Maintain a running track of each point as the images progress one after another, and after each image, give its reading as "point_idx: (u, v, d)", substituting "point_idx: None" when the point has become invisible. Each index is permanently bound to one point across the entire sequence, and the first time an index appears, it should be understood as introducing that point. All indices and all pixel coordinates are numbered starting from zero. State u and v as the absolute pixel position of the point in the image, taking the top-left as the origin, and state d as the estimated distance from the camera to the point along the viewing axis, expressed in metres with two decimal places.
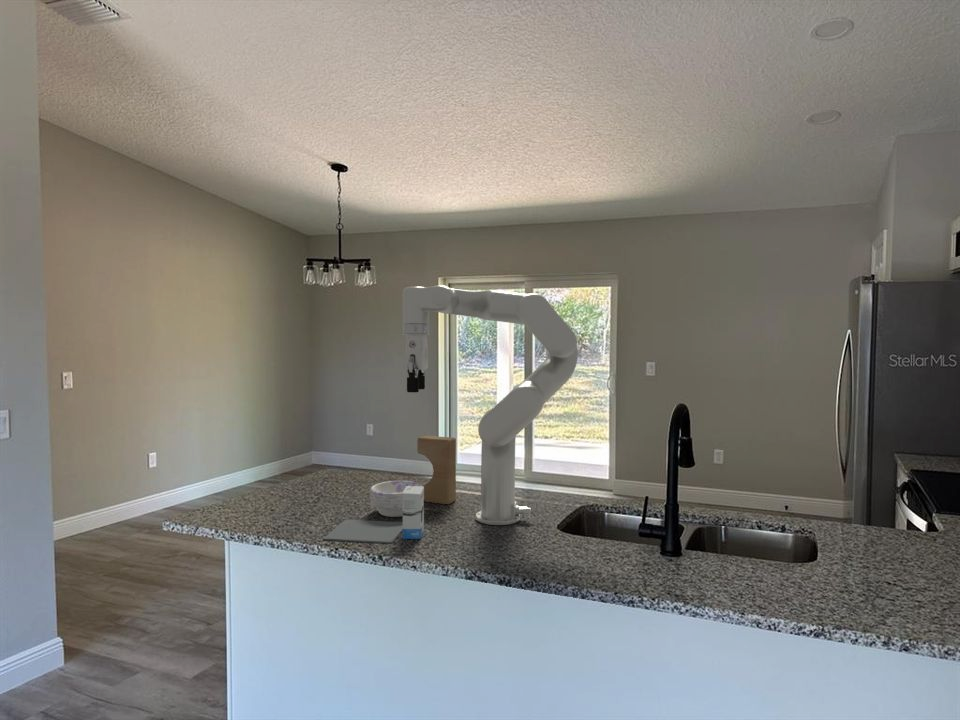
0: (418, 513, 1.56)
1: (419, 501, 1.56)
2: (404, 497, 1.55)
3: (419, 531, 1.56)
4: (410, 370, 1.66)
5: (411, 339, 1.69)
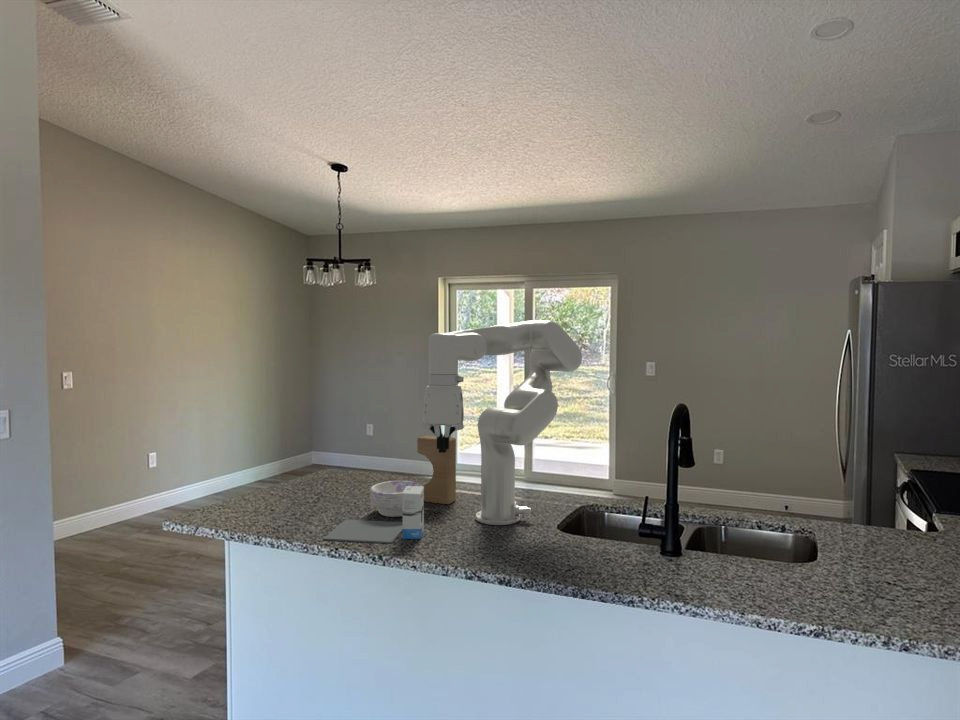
0: (417, 513, 1.56)
1: (419, 501, 1.56)
2: (404, 497, 1.55)
3: (419, 531, 1.56)
4: (455, 430, 1.57)
5: (460, 391, 1.56)
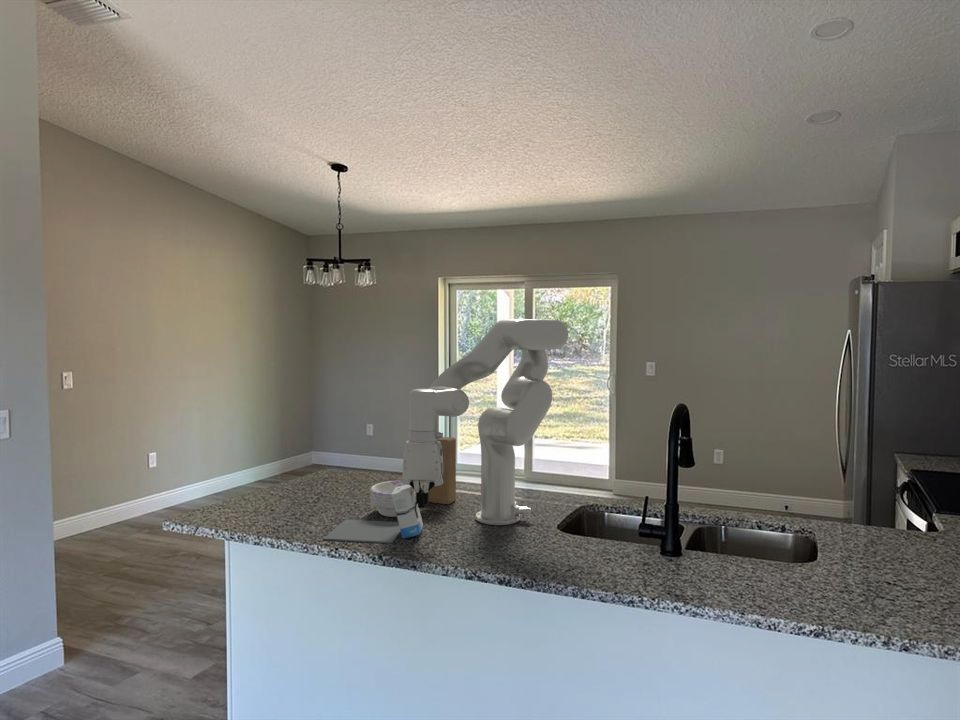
0: (411, 510, 1.56)
1: (409, 498, 1.56)
2: (394, 497, 1.55)
3: (417, 527, 1.56)
4: (434, 485, 1.58)
5: (439, 447, 1.58)
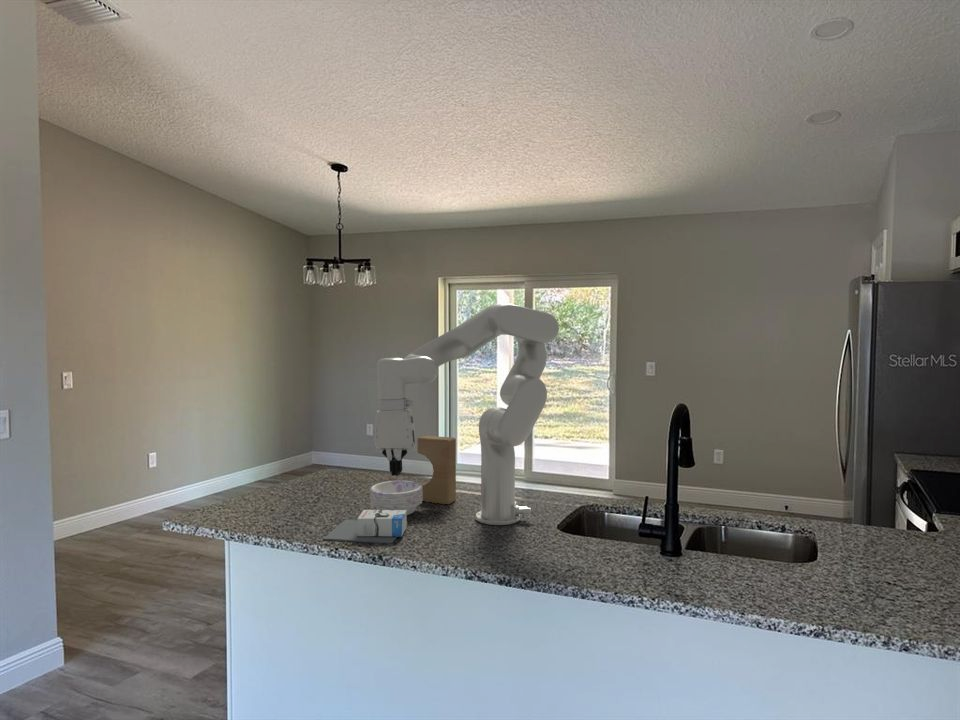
0: (376, 521, 1.56)
1: (364, 519, 1.56)
2: (360, 534, 1.56)
3: (394, 519, 1.56)
4: None
5: (410, 414, 1.59)
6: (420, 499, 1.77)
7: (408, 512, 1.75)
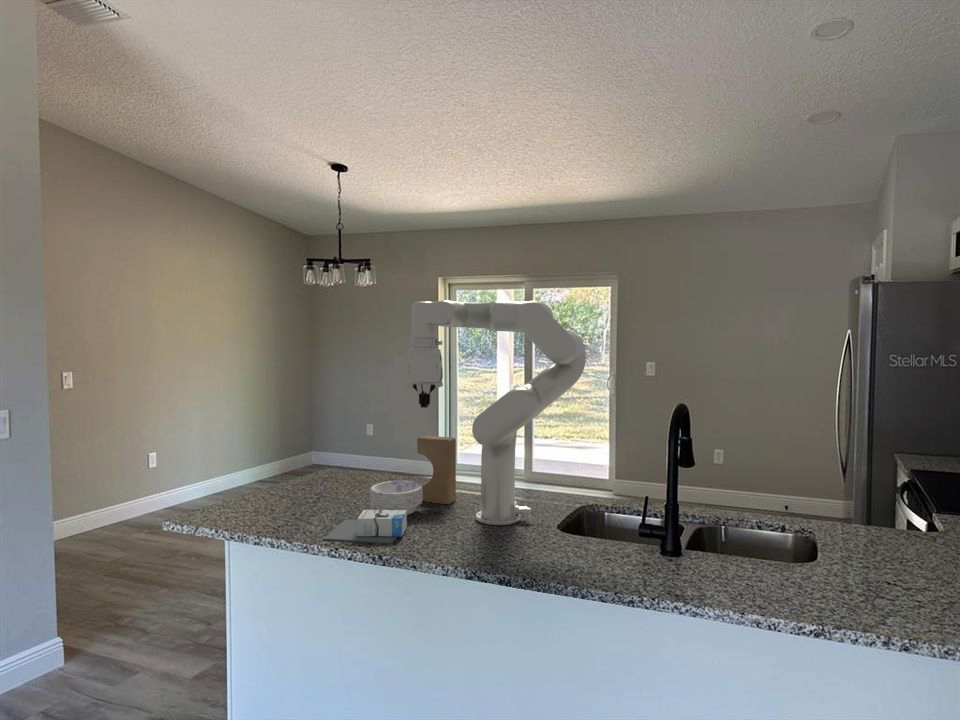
0: (376, 521, 1.56)
1: (364, 519, 1.56)
2: (360, 534, 1.56)
3: (394, 519, 1.56)
4: None
5: (439, 352, 1.77)
6: (420, 499, 1.77)
7: (408, 512, 1.75)
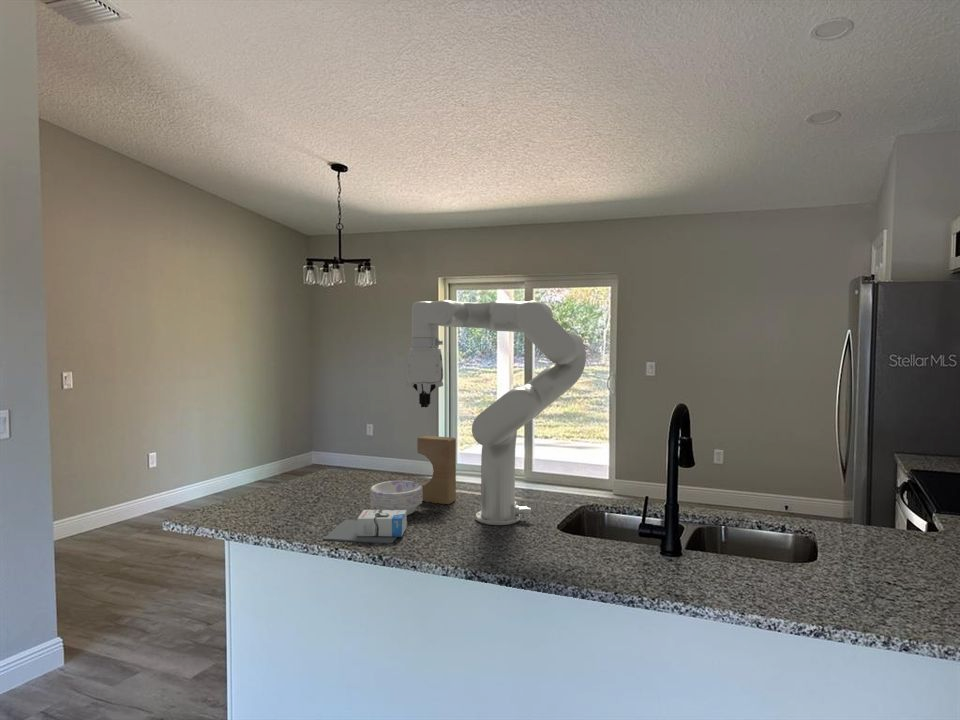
0: (376, 521, 1.56)
1: (364, 519, 1.56)
2: (360, 534, 1.56)
3: (394, 519, 1.56)
4: (435, 387, 1.78)
5: (439, 352, 1.77)
6: (420, 499, 1.77)
7: (408, 512, 1.75)
